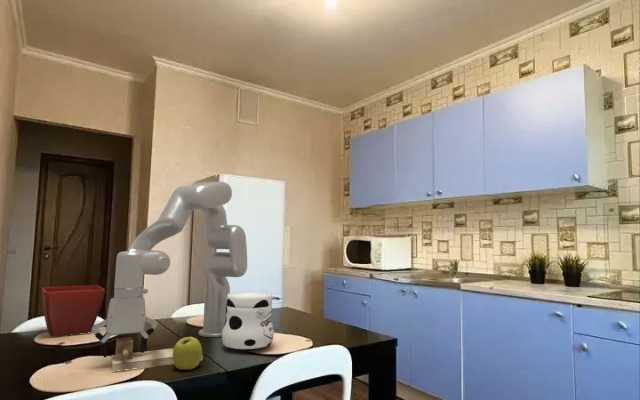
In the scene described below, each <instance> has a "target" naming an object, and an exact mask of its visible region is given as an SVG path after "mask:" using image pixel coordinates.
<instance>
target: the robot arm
mask: <svg viewBox="0 0 640 400" xmlns="http://www.w3.org/2000/svg"><path fill="white" fill-rule="evenodd" d="M232 196H233V190H232V187H231V186H230V184H229V183H227V182H225V181H210V182H207V181H206V182H205V181H203V182H195V183H193V184H191V185H183V186H178V187H176V189H174V191H173V192H172V194H171V196H170V198H169V199H168V201H167V203H166V205H165V207H164V209H163V210H162V212H161V213H160V215H159V217H158V218H157V220H156V221H155V222H153V223H151V224H150V225H149V226H147V227H146V228H145V229H144V230H142V232H140V233H139V234H138V235H137V236H136V237H135V239H134V241H133V242H132V243H131V245H130V247H129V249H128V250H126V251H120V252H118V253H117V255H116V262H115V273H114V274H115V277H114V287H113V288H114V289H113V298H110V300H109V302H108V303H109V304H108V307H107V315H106V319H104V320H102V321H100V322H99V323H97V324H94V326H93V327H92V330H91V332H92V333H93V334H94V336H95V339H98V340H99V342H100V343H101V348H100V349H101V350H100V354H101V355H103V358H107V357H108V345H109V343H108V340H109V339H110V337H111V336H120V335H129V334H130V335H132V334H138V333H139V334H141V338H140V349H139V352H141V353H144V352H145V350H146V349H147V347H148V338H150V336H151V335H152V334H153V333H154V332H155V329H157V326H158V325H159V322H158V321H157V320H155V319H152V318H150V317H148V316H146V314H147V313H146V301H145V300H146V299H145V296H143V295H146V294H148V293H149V292H148V291H149V289H148V288H144V287H143V284H144V275H150V276H151V275H152V276H156V275H157V276H159V275H162V274H164V273H166V272H167V271H168V269H169V268H170V265H171V258H170V256H169V255H168V254H167V253H166V252H164V251H162V250H154V249H153V248H154V247H156V245H157V244H159V243H161V242H162V241H165V240H166V239H169V238H171V237H174V236H176V235H178V234H180V233H181V232H182V231H183V229H185V228H184V227H185V226H186V224H187V222H188V219H189V217H190V216H191V214H192V212H193V211H194V210H201V212H202V214H203V219H204V232H205V233H204V234H205V243H206V245H207V246H208V248H210V249H214V250H229V252H228V251H214V252H210V253H208V254H207V255H206V256H205V258H204V260H203V273H204V280H205V281H204V287H205V288H204V301H203V302H204V303H203V305H204V307H203V323H202V324H203V325H202V329H200V330H198V335H199V336H201V337H205V338H220V337H221V338H222V331H223V327H224V324H225V320H226V305H227V304H226V300H227V295H228V294H229V293H231V287H230V283H229V279H228V278H239V277H240V278H241V277H243V276H244V275H245V274H246V272H247V270H248V247H247V246H248V245H247V237H246V236H247V235H246V232H245V230H244V228H243V227H241V226H240V225H236V224H228V219H227V218H228V217H227V212H226V208H225V207H224V205H226V204H228V203H229V202H230V201H231V199H232ZM152 249H153V250H152ZM146 323H147V324H150V325H151V326H150V327H149V328H148V330H145V329H146ZM103 327H105V331H106V332H105V333H104V334H102V333H101V332H100V331H99V330H100V329H101V328H103Z"/></svg>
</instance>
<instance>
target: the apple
mask: <svg viewBox="0 0 640 400" xmlns="http://www.w3.org/2000/svg"><path fill="white" fill-rule="evenodd" d="M193 334H194V333H192V332H191V334H190V336H186V337H183V338H180V339H179V340H178V341H177V342H176V343H175V344H174V346H173V348H174V349H173V360H174V364H173V365H175V367H176V368H177V369H178V370H180V371H181V370H185V371H186V370H193V369H195V368H197V367H198V366H199V364H200V362H201V361H202V360H201V356H202V357H203V354H202V353H203V349H202V348H203V347H202V345H201V342H200V340H198V338H196V337H193V336H192V335H193ZM200 360H201V361H200Z"/></svg>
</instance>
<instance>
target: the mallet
mask: <svg viewBox="0 0 640 400" xmlns="http://www.w3.org/2000/svg"><path fill="white" fill-rule="evenodd" d="M115 341H116V342H115V354H114V355H115V358H116V361H122V360H124V361H127V360H130V359H132V353H133V349H134V339H133V338H132V337H121V338H116V339H115Z"/></svg>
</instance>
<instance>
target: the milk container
mask: <svg viewBox="0 0 640 400" xmlns="http://www.w3.org/2000/svg"><path fill="white" fill-rule="evenodd" d="M226 304H227V305H226V320H225V324H224V327H223V331H222V337H221V340H222V344H223V347H225V348H227V349H228V350H231V351H234V352H235V351H236V352H256V351H259V350H264V349H266V348H269V347H270V346H271V344H273V341H274V337H275V336H274V334H275V333H274V332H275V331H274V326H273V325H274V324H273V321H272V319H273V318H272V316H273V315H272V312H273V311H272V309H273V306H272V305H273V296H272V293H270V292H268V291H253V290H252V291H249V290H247V291H236V292H235V291H234V292H230V293H229V294H228V295H227V300H226Z"/></svg>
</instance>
